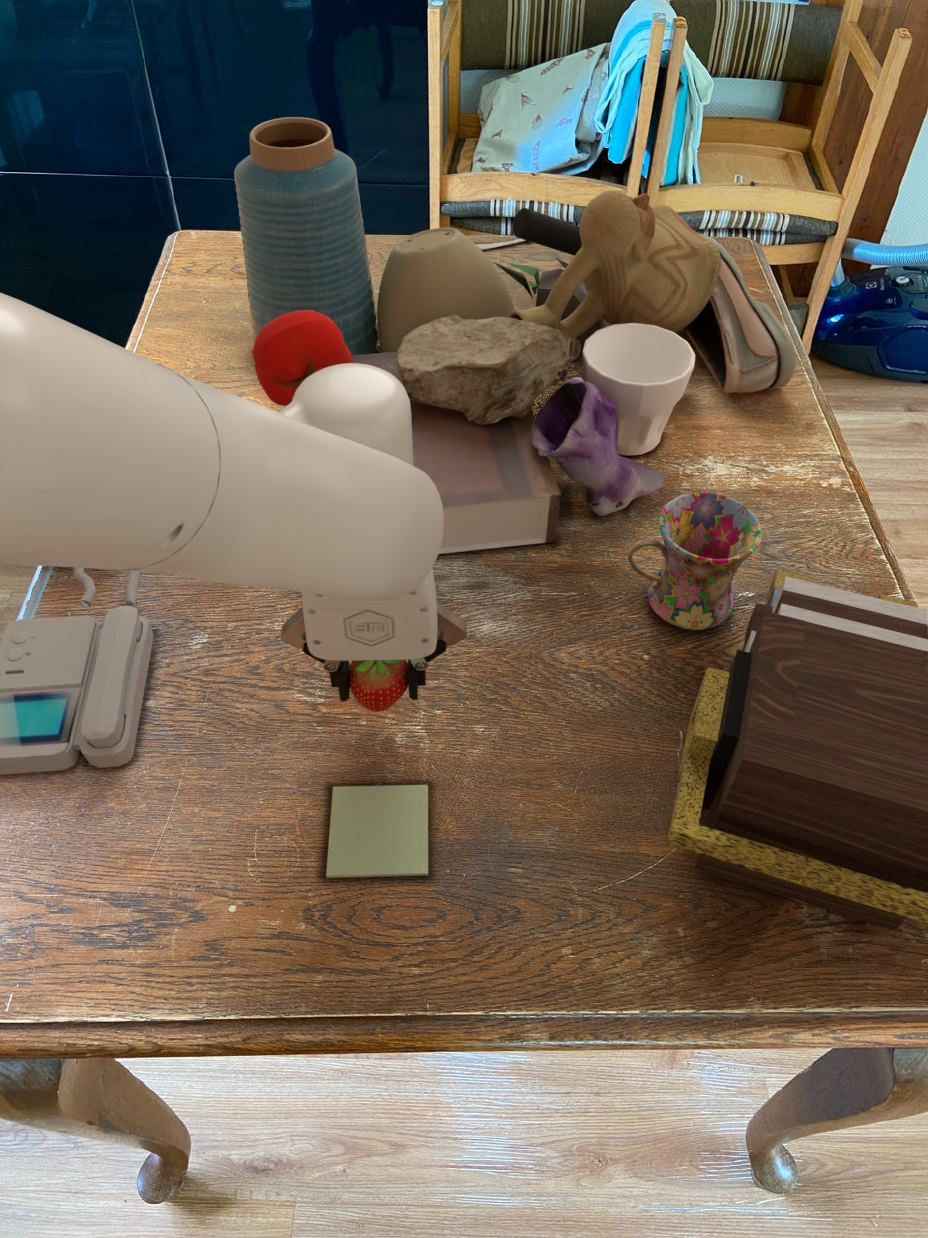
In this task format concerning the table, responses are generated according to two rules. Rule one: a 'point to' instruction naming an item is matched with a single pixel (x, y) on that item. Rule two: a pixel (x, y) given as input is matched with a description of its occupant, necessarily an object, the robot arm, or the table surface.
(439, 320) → the rock
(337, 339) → the tomato
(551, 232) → the flashlight
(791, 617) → the brown wooden box
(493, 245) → the knife
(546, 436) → the figurine
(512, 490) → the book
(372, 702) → the fruit
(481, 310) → the flower pot
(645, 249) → the ceramic vessel
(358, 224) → the vase
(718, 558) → the mug
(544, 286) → the succulent plant
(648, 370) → the cup
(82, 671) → the intercom
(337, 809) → the napkin
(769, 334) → the loafer
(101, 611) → the table surface
